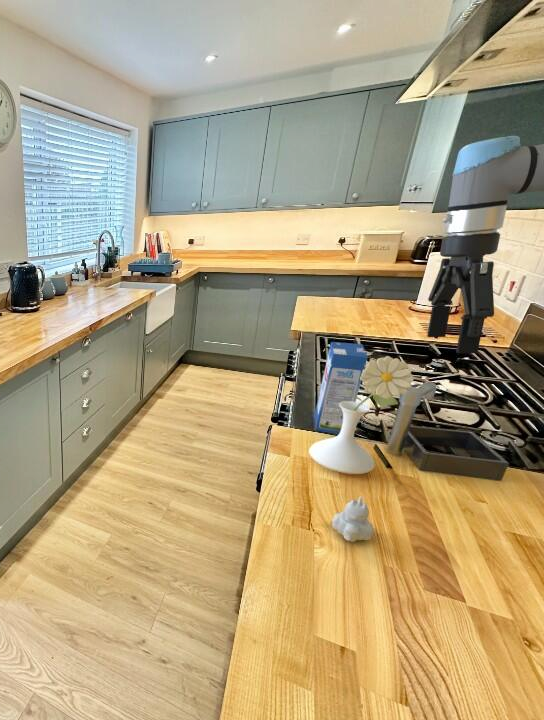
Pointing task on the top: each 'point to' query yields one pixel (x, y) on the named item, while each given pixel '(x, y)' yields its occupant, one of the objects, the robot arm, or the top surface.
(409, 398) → the spout
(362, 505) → the grey creature figurine
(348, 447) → the flower in vase
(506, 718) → the top surface
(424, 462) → the dark grey open tray
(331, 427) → the milk carton
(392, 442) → the faucet base
